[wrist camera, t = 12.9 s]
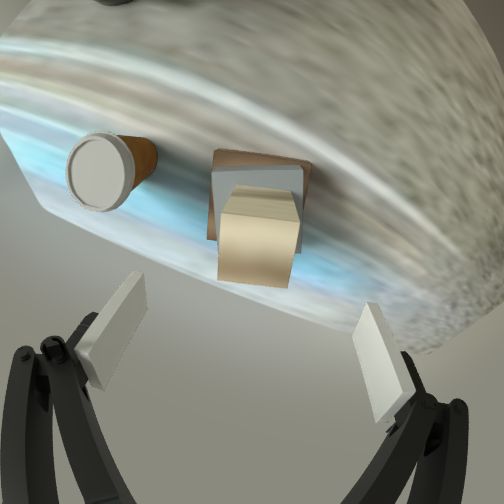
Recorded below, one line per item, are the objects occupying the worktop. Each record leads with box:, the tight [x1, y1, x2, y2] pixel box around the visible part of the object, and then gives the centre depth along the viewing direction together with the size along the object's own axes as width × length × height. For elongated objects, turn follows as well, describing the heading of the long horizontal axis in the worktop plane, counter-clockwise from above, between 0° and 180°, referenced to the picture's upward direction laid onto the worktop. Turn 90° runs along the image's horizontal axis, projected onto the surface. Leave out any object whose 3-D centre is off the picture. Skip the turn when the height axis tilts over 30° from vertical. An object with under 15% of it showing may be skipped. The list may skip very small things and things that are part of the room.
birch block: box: [217, 184, 300, 289], centre depth 26 cm, size 6×6×10 cm
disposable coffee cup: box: [66, 131, 158, 212], centre depth 30 cm, size 10×10×12 cm
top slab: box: [211, 165, 303, 254], centre depth 33 cm, size 10×10×4 cm
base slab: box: [207, 149, 312, 241], centre depth 36 cm, size 12×12×4 cm
